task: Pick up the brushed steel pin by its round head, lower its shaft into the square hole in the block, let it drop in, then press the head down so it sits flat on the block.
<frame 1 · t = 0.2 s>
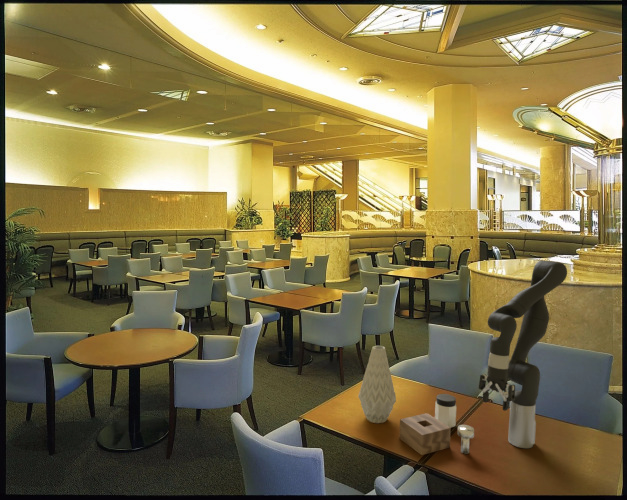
hand: (495, 405, 172), 18 cm above the table, tool pointing down, fingers open, 8 cm apart
pin block: (424, 442, 178), on the table
jar: (444, 424, 194), on the table
pin: (464, 451, 172), on the table
vase: (376, 419, 198), on the table
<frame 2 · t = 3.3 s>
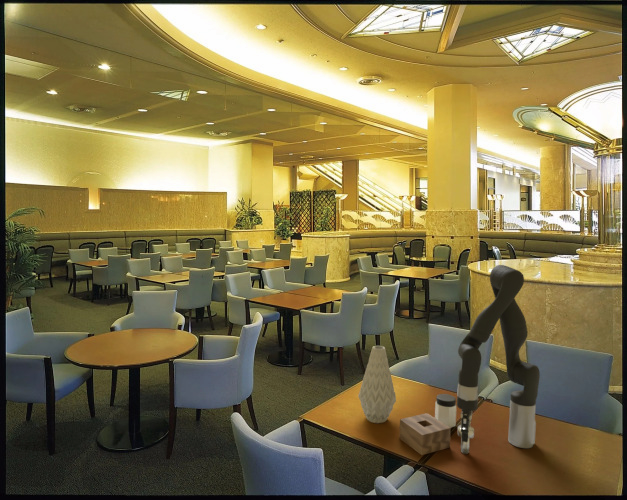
hand: (465, 437, 171), 6 cm above the table, tool pointing down, fingers closed on pin, 6 cm apart
pin: (464, 451, 172), on the table, touching gripper
everything else where it was.
when the fingers open (10 cm above the table, at t = 10.1 s): pin drops 3 cm, resting on pin block.
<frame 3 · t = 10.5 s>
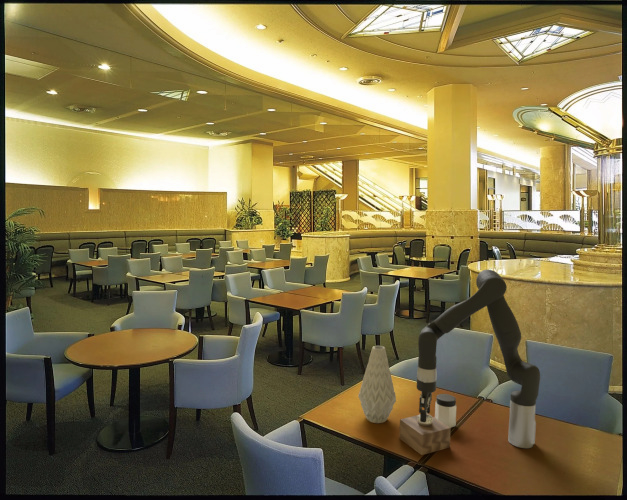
hand: (425, 417, 177), 11 cm above the table, tool pointing down, fingers open, 8 cm apart
pin: (424, 440, 178), point 1 cm above the table, touching pin block
everything else where it was.
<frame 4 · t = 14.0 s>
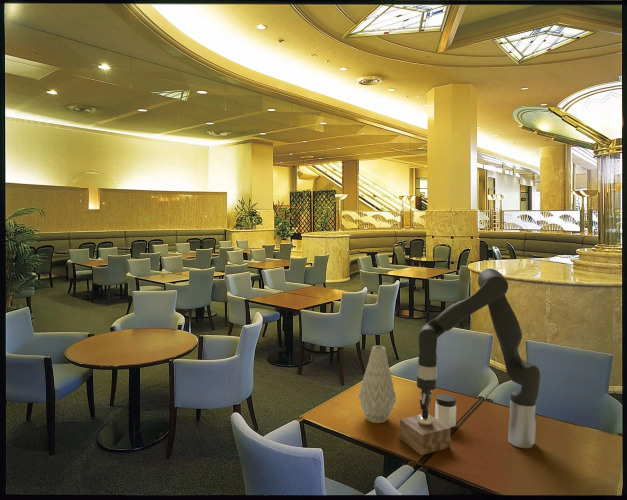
hand: (425, 417, 177), 10 cm above the table, tool pointing down, fingers closed
pin: (424, 440, 178), point 1 cm above the table, touching gripper, pin block
everything else where it was.
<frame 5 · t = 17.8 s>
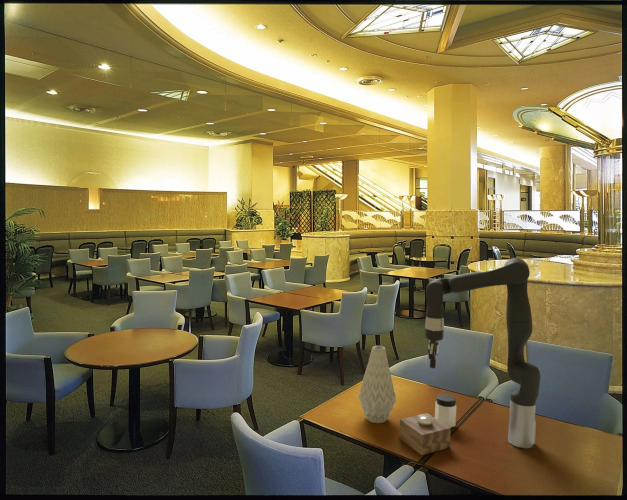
hand: (432, 367, 187), 27 cm above the table, tool pointing down, fingers closed
pin: (424, 440, 178), point 1 cm above the table, touching pin block
everything else where it was.
at the end: pin 0.1 cm off-centre on the pin block, point 1.0 cm above the pin block's base; pin tilted 0°; the gripper is holding nothing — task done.
